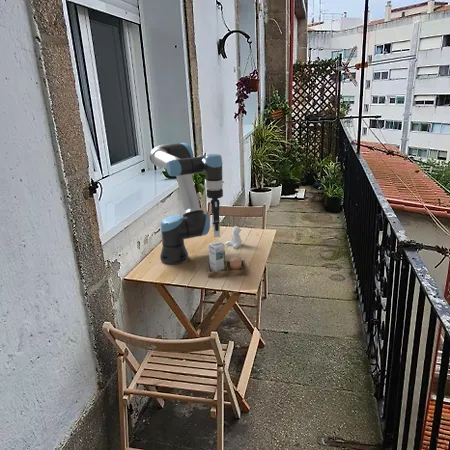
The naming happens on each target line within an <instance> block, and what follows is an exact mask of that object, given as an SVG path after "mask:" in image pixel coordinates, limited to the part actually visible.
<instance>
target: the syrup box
mask: <svg viewBox="0 0 450 450" xmlns="http://www.w3.org/2000/svg"><path fill="white" fill-rule="evenodd" d="M225 246H226V244H224V243H222V242H220V241H217V242H213V243H208V256H209V262H210V271H212V272H216V271H226V268H225V261H226V251H225Z"/></svg>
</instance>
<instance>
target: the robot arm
mask: <svg viewBox="0 0 450 450" xmlns="http://www.w3.org/2000/svg"><path fill="white" fill-rule="evenodd" d="M149 160H150V162H151V164H152V165H154V166H155V167H158V168H163V169H165V170H166V172H167V174H168V176H170V177H175V178H176V180H177V185H178V189H179V193H180V198H181V202H182V205H183V210H184V213H182V215H180V214H175V215H174V214H173V215H169V216H166V217H165V218H163V219H162V220H161V221H160V233H161V242H162V248H161V251H160V256H159V257H160V258H159V259H160V261H161V262H162V263H163V264H167V265H177V264H183V263H184V262H187V260H188V259H189V252H188V251H187V248H186V246H185V240H187V239H192V238H196V237H197V238H198V237H202V236H206V235H208V234H209V232H210V228H211V224H212V228H213V238H220V237H221V230H220V229H221V226H220V224H221V222H220V203H221V202H220V198H223V197H224V189H223V184H225V181H223V158H222V155H221V154H218V153H217V154H216V153H210V154H207V155H205V154H204V155H197V156H194V151H193V149H192V146H191V145H190V144H189V143H187V142H178V143H177V142H176V143H166V144H165V143H164V144H159V145H156V146H155V147H153V149H151V151H150V153H149ZM202 173H204V174H205V184H206V185H205V186H206V197H207V199H210V207H211V214H212V215H211V218H212V219H210V217H209V215H208V214H207V213H205V212H204V209H202V208H201V207H200V203H199V199H198V195H197V192H196V191H197V190H196V187H195V184H194V179H193V175H196V174H202ZM211 221H212V223H211Z"/></svg>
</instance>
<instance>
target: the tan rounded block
mask: <svg viewBox="0 0 450 450" xmlns="http://www.w3.org/2000/svg"><path fill="white" fill-rule="evenodd" d="M241 260H242V258H241V257H239V256H233V257H230V258H229V261H230V271H232V270H241Z"/></svg>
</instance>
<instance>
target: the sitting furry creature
mask: <svg viewBox="0 0 450 450" xmlns="http://www.w3.org/2000/svg"><path fill="white" fill-rule="evenodd" d="M241 231H242V229H241V228H240V227H239V226H237V225H234V226H233V228H232V235H231V239H230V240H228V241H225V246H231V247H232V248H233V250H236V249H238V248H239V247H240V246H241V245H242V244H243V240H242V239H241V235H240V232H241Z"/></svg>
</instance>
